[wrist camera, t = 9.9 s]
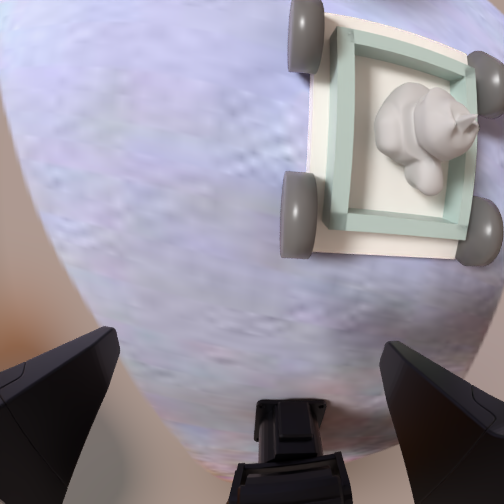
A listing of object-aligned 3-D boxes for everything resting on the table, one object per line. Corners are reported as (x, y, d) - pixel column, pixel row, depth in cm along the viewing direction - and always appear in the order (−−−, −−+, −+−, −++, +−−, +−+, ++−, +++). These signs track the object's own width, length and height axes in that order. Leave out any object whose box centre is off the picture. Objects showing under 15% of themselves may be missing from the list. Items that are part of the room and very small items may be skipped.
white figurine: (429, 92, 15) (507, 73, 7) (438, 187, 17) (517, 211, 10) (357, 87, 15) (418, 51, 8) (368, 190, 17) (435, 218, 10)
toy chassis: (458, 253, 20) (493, 277, 15) (278, 243, 20) (283, 271, 16) (469, 64, 15) (507, 52, 10) (288, 17, 15) (295, -18, 10)
